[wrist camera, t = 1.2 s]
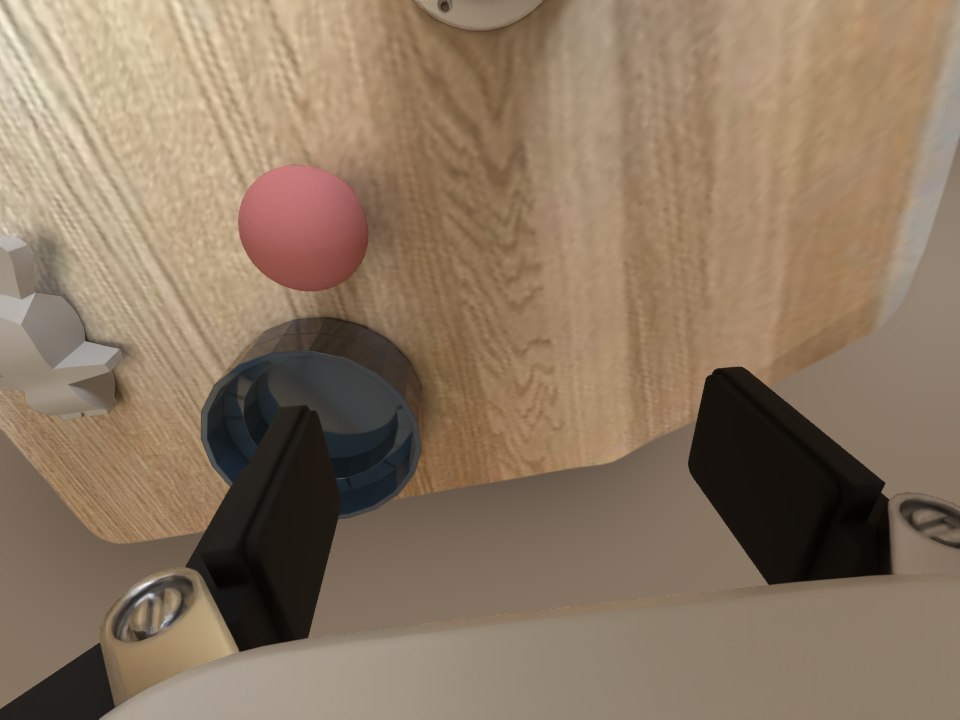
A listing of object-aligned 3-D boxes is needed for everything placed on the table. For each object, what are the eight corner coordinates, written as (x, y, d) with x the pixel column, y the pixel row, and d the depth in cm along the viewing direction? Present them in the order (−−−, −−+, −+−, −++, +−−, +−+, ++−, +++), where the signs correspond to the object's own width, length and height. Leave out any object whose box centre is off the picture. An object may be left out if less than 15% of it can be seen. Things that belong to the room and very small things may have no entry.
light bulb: (320, 266, 36) (271, 328, 26) (266, 179, 33) (184, 208, 22) (399, 230, 35) (382, 278, 25) (352, 136, 32) (309, 146, 22)
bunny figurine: (15, 439, 37) (-156, 269, 28) (57, 398, 41) (-81, 240, 32) (130, 421, 37) (-5, 247, 28) (161, 383, 41) (51, 221, 32)
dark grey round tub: (193, 391, 41) (153, 436, 35) (327, 276, 37) (307, 306, 31) (333, 495, 48) (319, 547, 42) (459, 408, 44) (462, 452, 38)
